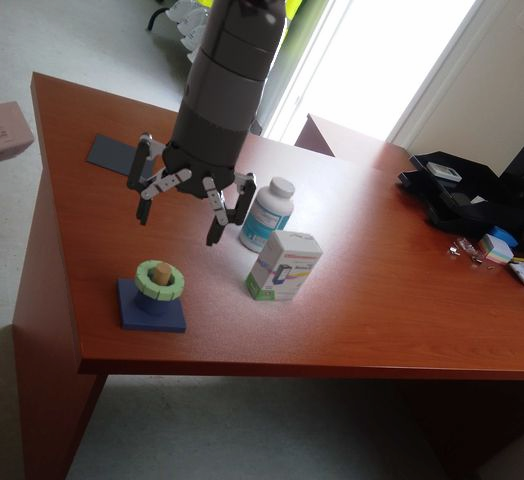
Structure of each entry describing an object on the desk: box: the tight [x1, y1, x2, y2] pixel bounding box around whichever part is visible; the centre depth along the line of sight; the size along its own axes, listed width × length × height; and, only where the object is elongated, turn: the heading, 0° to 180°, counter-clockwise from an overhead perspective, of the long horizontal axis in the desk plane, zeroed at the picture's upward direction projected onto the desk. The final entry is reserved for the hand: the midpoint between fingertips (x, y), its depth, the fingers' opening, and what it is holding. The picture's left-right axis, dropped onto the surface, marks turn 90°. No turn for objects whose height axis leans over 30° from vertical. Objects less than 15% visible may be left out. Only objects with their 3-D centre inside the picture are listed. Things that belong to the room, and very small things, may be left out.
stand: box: [116, 262, 187, 334], centre depth 65 cm, size 9×9×8 cm
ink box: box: [244, 229, 324, 301], centre depth 78 cm, size 9×5×12 cm, turn 118°
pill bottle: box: [239, 176, 296, 254], centre depth 87 cm, size 8×7×14 cm
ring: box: [133, 259, 185, 301], centre depth 64 cm, size 7×7×1 cm
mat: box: [85, 133, 157, 180], centre depth 91 cm, size 12×12×1 cm
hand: (176, 232), depth 58 cm, fingers open, 8 cm apart
